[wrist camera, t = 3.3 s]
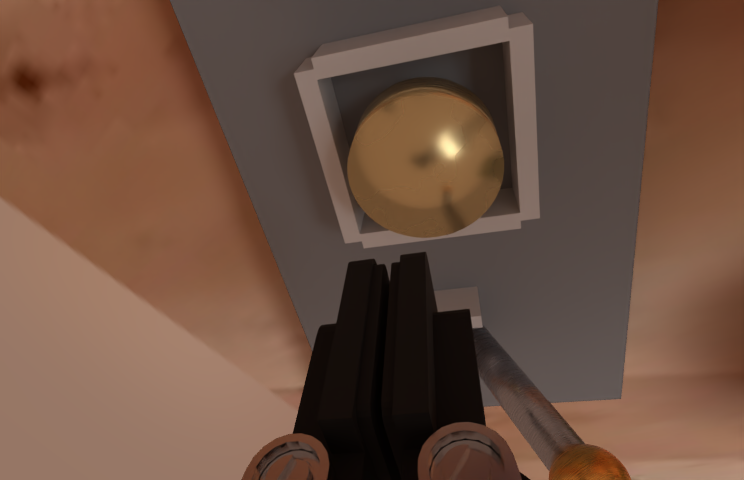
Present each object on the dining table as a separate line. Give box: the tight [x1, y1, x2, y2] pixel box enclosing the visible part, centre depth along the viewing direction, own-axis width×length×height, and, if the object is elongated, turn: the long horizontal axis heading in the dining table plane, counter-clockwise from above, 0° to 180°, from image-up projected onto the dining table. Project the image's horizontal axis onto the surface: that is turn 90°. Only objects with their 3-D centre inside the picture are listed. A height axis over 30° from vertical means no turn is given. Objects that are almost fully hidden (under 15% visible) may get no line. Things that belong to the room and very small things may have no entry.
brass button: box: [347, 77, 504, 238], centre depth 16 cm, size 5×5×2 cm
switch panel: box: [170, 0, 658, 407], centre depth 19 cm, size 16×34×5 cm, turn 12°
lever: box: [473, 324, 631, 480], centre depth 19 cm, size 3×3×10 cm
